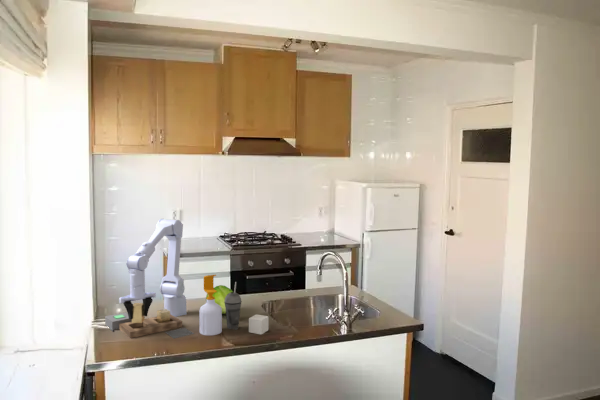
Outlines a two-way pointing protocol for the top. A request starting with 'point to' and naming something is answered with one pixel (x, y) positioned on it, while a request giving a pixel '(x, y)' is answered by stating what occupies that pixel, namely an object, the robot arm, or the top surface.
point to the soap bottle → (210, 311)
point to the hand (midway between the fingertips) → (138, 317)
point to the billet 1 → (138, 313)
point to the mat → (179, 333)
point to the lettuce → (221, 296)
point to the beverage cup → (233, 309)
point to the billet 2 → (163, 316)
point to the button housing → (116, 321)
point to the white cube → (258, 324)
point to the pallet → (149, 326)
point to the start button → (119, 316)
